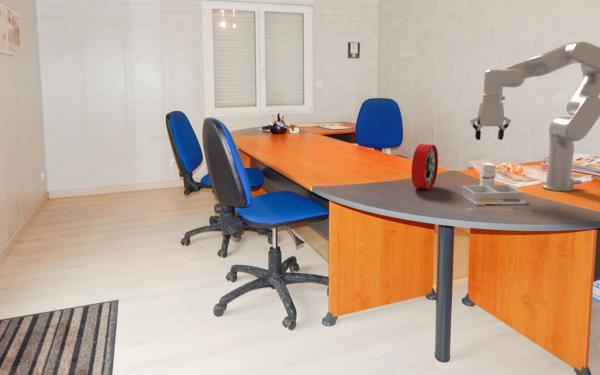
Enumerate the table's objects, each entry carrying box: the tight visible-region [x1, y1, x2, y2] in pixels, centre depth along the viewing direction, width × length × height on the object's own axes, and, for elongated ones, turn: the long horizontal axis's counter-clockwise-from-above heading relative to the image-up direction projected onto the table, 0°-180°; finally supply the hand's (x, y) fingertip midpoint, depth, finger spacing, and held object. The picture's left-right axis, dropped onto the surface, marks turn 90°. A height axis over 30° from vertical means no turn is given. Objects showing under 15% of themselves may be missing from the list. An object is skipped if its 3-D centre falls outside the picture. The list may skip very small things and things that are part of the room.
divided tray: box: [461, 184, 527, 206], centre depth 203 cm, size 20×17×4 cm
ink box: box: [479, 161, 496, 185], centre depth 218 cm, size 9×5×12 cm, turn 168°
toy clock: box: [410, 143, 439, 190], centre depth 222 cm, size 20×6×20 cm, turn 149°
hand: (489, 139), depth 215 cm, fingers open, 9 cm apart
